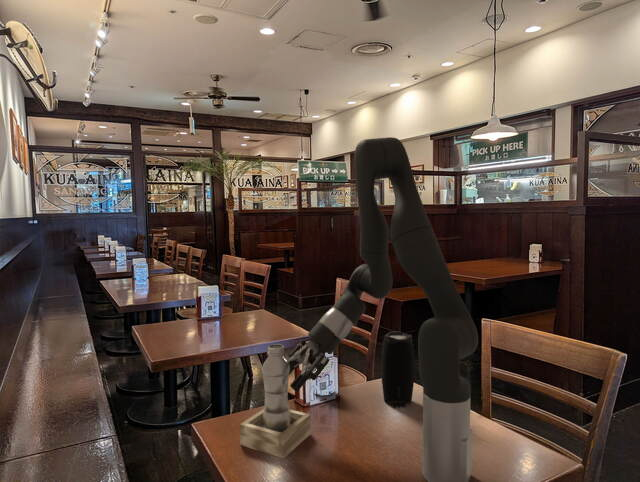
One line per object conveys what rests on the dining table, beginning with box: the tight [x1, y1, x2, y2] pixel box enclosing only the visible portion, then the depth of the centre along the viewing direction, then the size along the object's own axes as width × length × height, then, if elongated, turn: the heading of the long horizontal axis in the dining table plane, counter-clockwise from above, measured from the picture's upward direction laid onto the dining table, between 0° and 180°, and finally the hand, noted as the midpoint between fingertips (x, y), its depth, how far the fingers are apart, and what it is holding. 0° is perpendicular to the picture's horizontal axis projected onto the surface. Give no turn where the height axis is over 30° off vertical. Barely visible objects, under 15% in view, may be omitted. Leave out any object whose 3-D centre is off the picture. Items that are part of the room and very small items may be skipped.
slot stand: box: [239, 408, 311, 459], centre depth 104 cm, size 12×12×5 cm
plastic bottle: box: [261, 343, 291, 432], centre depth 103 cm, size 6×7×20 cm
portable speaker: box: [381, 330, 415, 408], centre depth 124 cm, size 9×9×20 cm
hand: (287, 382), depth 104 cm, fingers open, 8 cm apart
